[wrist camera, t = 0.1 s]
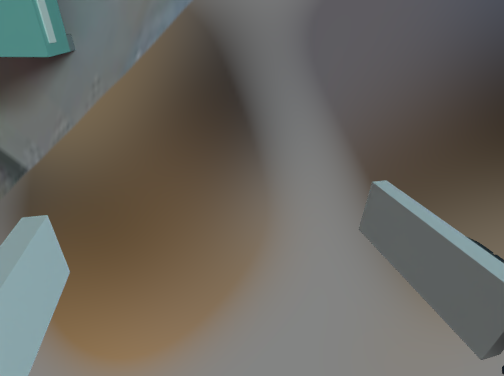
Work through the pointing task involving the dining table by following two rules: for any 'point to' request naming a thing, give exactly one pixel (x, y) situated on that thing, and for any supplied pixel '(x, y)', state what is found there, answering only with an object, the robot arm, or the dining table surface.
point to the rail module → (32, 29)
